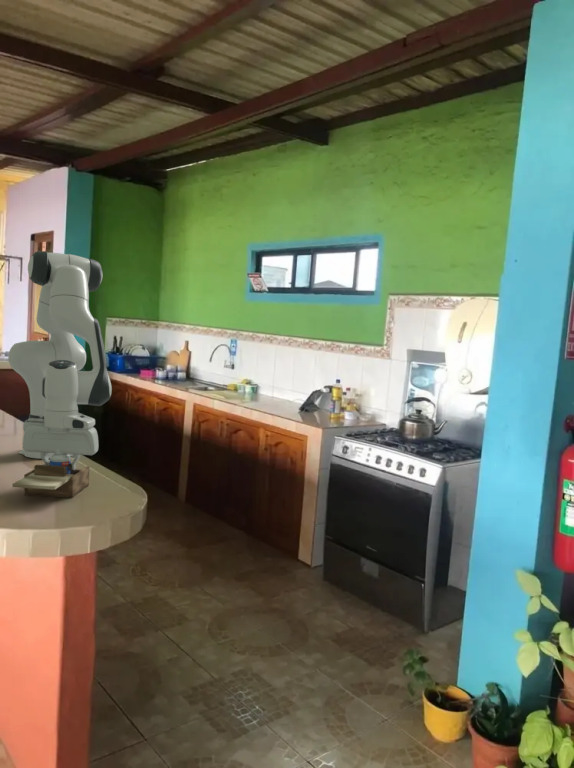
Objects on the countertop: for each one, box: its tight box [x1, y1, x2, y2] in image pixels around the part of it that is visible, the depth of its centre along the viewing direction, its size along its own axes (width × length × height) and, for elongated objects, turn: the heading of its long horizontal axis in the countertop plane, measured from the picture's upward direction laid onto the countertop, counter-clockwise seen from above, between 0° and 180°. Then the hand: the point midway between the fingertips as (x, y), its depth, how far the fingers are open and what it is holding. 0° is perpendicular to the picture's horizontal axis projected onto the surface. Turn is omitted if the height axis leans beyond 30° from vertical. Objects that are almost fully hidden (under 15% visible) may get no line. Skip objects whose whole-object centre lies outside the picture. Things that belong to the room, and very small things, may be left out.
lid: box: [11, 464, 74, 490], centre depth 165 cm, size 13×11×3 cm
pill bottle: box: [49, 449, 71, 474], centre depth 176 cm, size 6×5×10 cm
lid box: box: [23, 463, 90, 499], centre depth 175 cm, size 13×13×6 cm
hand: (60, 468), depth 176 cm, fingers closed on pill bottle, 5 cm apart
